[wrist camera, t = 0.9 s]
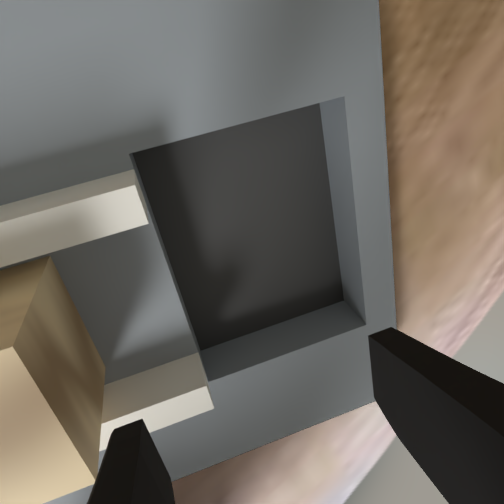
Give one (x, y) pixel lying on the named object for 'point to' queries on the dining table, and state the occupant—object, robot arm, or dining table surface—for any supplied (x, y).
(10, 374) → the maple block
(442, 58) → the dining table surface
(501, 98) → the dining table surface
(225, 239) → the trap deck
